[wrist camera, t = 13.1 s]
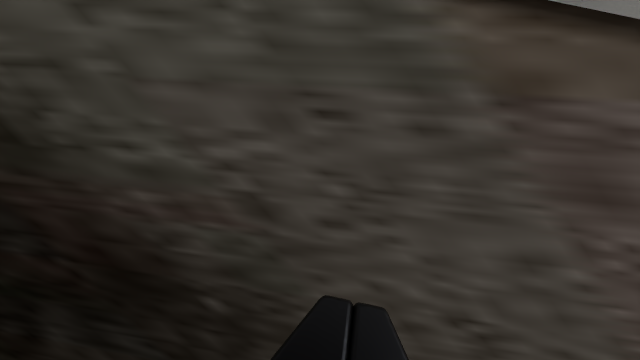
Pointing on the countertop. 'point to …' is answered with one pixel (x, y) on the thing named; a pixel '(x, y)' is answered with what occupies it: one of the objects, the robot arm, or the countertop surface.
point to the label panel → (609, 6)
